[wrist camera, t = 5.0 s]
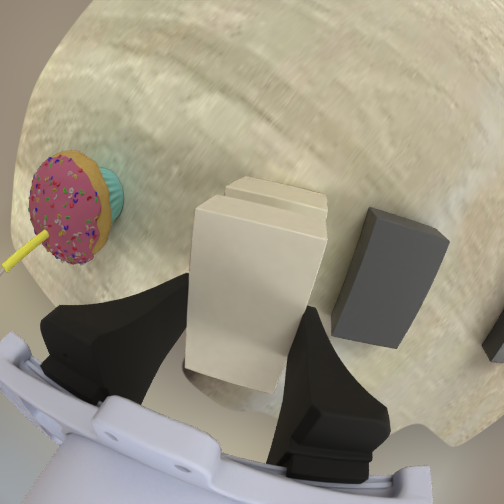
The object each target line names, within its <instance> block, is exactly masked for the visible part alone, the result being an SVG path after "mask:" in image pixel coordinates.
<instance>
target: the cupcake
mask: <svg viewBox="0 0 504 504" xmlns="http://www.w3.org/2000/svg"><path fill="white" fill-rule="evenodd" d="M123 201H124V196H123V190H122V186H121V184H120V181H119V180H118V178H117V177H116V175H115V174H114V173H113V172H111V171H110V170H108V169H105V168H100V167H98V165H97V163H96V162H95V161H93V160H92V159H90V158H88V157H87V156H85V155H84V154H83V153H81V152H79V151H73V150H70V151H63V152H60V153H58V154H56V155H54V156H53V157H50V158H49V159H47V160H46V161H45V162H44V163H43V164H42V165H41V166H40V167H39V168H38V171H37V172H36V173H35V175H34V177H33V180H32V186H31V190H30V197H29V208H28V211H29V212H30V217H31V219H30V220H31V223H32V225H33V227H34V232H35V234H36V235H37V236H35V237H34V238H33V239H31V240H30V241H29V242H28V243H26V244H25V245H24V246H23V247H21V248H20V249H19V250H18V251H17V252H15V253H14V254H13V255H12V256H11V257H9V258H8V259H7V260H6V261H5V262H4V263H3V264H2V268H3V269H2V270H1V271H0V275H1V274H2V273H3V272H4V271H5V272H8V271H9V270H10V269H11V268H13V267H14V266H15V265H16V264H17V263H18V262H19V261H21V260H22V259H23V258H24V257H25V256H26V255H28V254H29V253H30V252H31V251H32V250H34V249H35V248H36V247H37V246H38V245H40V244H41V243H42V245H43V246H44V247H45V248H46V250H47V251H48V252H49V251H50V252H51V253H52V255H54V256H55V258H56V257H57V258H56V259H61V262H62V260H63V262H64V261H67V263H68V264H72V265H74V264H78V263H81V264H82V265H83V264H84V263H86V262H89V261H90V260H92V259H93V255H94V254H96V253H97V252H98V251H99V250H100V249H101V248H102V247H103V246H104V245H105V244H106V242H107V239H108V235H109V232H110V229H111V224H112V223H113V222H114V220H115V219H116V218H117V217H118V216H119V214H120V212H121V210H122V207H123ZM63 262H62V263H63ZM73 263H74V264H73ZM81 264H80V265H81Z"/></svg>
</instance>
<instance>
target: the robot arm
mask: <svg viewBox="0 0 504 504" xmlns="http://www.w3.org/2000/svg"><path fill="white" fill-rule="evenodd" d="M188 291H189V273H185V274H182V275H180V276H178V277H176V278H174V279H171V280H169V281H167V282H165V283H163V284H161V285H158V286H156V287H154V288H151V289H149V290H146V291H144V292H141V293H139V294H136V295H133V296H129V297H126V298H122V299H119V300H114V301H109V302H104V303H97V304H88V305H59V306H58V307H56V308H55V309H54V310H53V311H52V312H51V313H49V314H48V315H47V316H46V317H45V318H43V319H42V320H41V323H40V329H41V333H42V336H43V339H44V342H45V344H46V347H47V349H48V352H49V354H50V355H49V356H48V357H47V358H46V360H44V361H43V363H42V362H40V361H39V360H38V359H36V358H35V357H34V356H32V353H31V350H30V348H29V346H28V345H27V344H26V342H25V341H24V340H23V339H22V338H21V337H19V336H18V335H17V334H16V333H14V332H13V331H11V332H10V333H9V334H8V335H6V336H5V337H4V338H3V339H2V340H1V341H0V391H1V392H2V393H3V394H4V395H5V396H6V397H7V398H8V400H9V401H11V403H12V404H14V406H15V407H17V408H18V409H19V410H20V411H21V412H22V413H23V414H24V415H25V416H26V417H27V418H28V419H29V420H30V421H31V422H32V423H33V424H34V425H35V426H37V427H38V428H39V429H40V430H41V431H42V432H43V433H45V434H46V435H47V436H48V437H49V438H50V439H52V440H53V441H54V442H55V443H57V444H58V445H59V446H60V447H59V448H58V450H57V451H56V453H55V454H54V456H53V457H52V458H51V460H50V461H49V463H48V464H47V465H46V467H45V469H44V470H43V471H42V473H41V474H40V476H39V477H38V479H37V480H36V482H35V483H34V485H33V486H32V488H31V489H30V491H29V492H28V494H27V495H26V497H25V498H24V500H23V501H22V503H21V504H433V497H432V496H433V495H432V483H431V474H430V466H429V465H424V466H410V467H405V468H402V469H400V470H398V471H397V472H396V473H394V474H393V475H369V462H371V461H372V452H373V451H374V450H375V449H376V448H377V447H378V446H380V445H381V444H382V443H383V442H384V441H385V440H386V439H387V438H388V436H389V435H390V432H391V429H390V420H389V415H388V410H387V407H385V406H384V405H383V404H382V403H380V402H379V401H378V400H377V399H375V398H374V397H373V396H372V395H371V394H369V393H368V392H367V391H366V390H365V389H364V388H363V387H362V386H361V385H360V384H359V383H358V382H357V380H356V379H355V378H354V377H353V376H352V375H351V373H350V372H349V371H348V370H347V368H346V367H345V366H344V364H343V363H342V361H341V360H340V358H339V357H338V355H337V354H336V352H335V350H334V348H333V346H332V344H331V342H330V340H329V338H328V336H327V334H326V332H325V330H324V327H323V325H322V322H321V320H320V317H319V314H318V312H317V309H316V308H315V307H311V306H307V307H306V310H305V312H304V313H303V315H302V318H301V321H300V324H299V327H298V329H297V332H296V335H295V338H294V340H293V343H292V346H291V348H290V351H289V354H288V356H287V366H286V377H285V387H284V395H283V401H282V406H281V410H280V414H279V419H278V423H277V426H276V430H275V434H274V438H273V442H272V445H271V449H270V452H269V455H268V459H267V462H266V464H265V463H260V462H256V461H252V460H247V459H244V458H240V457H236V456H232V455H229V454H225V453H222V452H221V451H222V449H221V447H220V445H219V443H218V441H217V440H216V439H215V438H213V437H212V436H211V435H209V434H208V433H206V432H204V431H202V430H200V429H198V428H195V427H193V426H191V425H188V424H185V423H182V422H180V421H177V420H175V419H172V418H170V417H167V416H164V415H162V414H160V413H157V412H155V411H153V410H151V409H148V408H146V407H144V406H142V405H141V404H142V402H143V399H144V397H145V395H146V393H147V391H148V389H149V387H150V385H151V383H152V380H153V378H154V377H155V375H156V373H157V371H158V369H159V367H160V365H161V363H162V362H163V360H164V358H165V357H166V355H167V354H168V353H169V351H170V350H171V348H172V347H173V346H174V344H175V343H176V341H177V340H178V339H179V337H180V336H181V334H182V333H183V331H184V330H185V329H186V327H187V308H188Z"/></svg>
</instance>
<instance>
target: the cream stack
mask: <svg viewBox="0 0 504 504" xmlns="http://www.w3.org/2000/svg"><path fill="white" fill-rule="evenodd" d="M224 196H227V197H231V198H236V199H241V200H245V201H249V202H254V203H258V204H263V205H267V206H271V207H275V208H279V209H284V210H288V211H292V212H296V213H300V214H304V215H308V216H312V217H315V218H319V219H323V220H325V221H326V217H327V213H328V209H327V205H328V203H327V198H326V195H325V194H321V193H317V192H313V191H309V190H305V189H301V188H297V187H293V186H289V185H284V184H280V183H276V182H271V181H267V180H262V179H258V178H253V177H248V176H245V177H243V178H241V179H238V180H236V181H234V182H232V183H231V184H229V185H227V186H226V187H225V192H224Z"/></svg>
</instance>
